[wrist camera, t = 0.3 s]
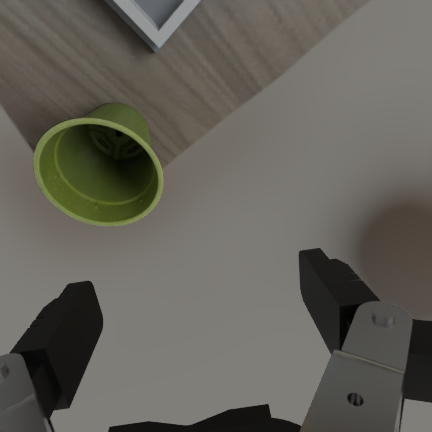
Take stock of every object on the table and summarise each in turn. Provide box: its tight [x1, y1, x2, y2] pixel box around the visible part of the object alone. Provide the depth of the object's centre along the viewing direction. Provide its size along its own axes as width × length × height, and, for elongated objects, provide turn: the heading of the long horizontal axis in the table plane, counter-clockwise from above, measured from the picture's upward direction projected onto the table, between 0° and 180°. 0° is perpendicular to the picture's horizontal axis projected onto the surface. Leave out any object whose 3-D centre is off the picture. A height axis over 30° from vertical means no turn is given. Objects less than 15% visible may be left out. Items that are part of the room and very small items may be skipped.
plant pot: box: [33, 103, 163, 226], centre depth 34 cm, size 12×12×11 cm
